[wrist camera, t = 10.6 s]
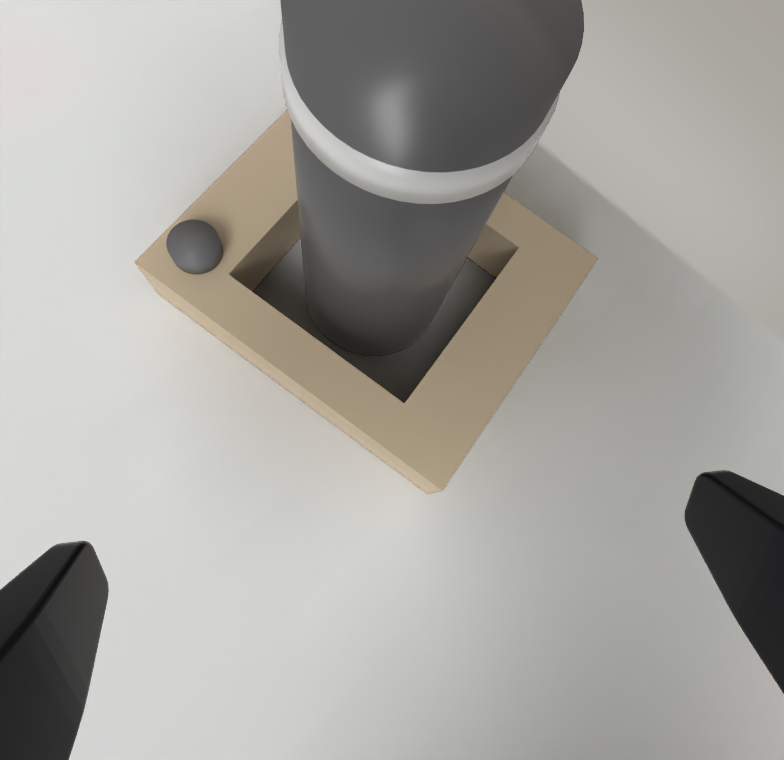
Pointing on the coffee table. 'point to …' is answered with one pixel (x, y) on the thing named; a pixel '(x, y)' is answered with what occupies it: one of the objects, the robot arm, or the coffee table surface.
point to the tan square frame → (322, 365)
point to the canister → (410, 144)
